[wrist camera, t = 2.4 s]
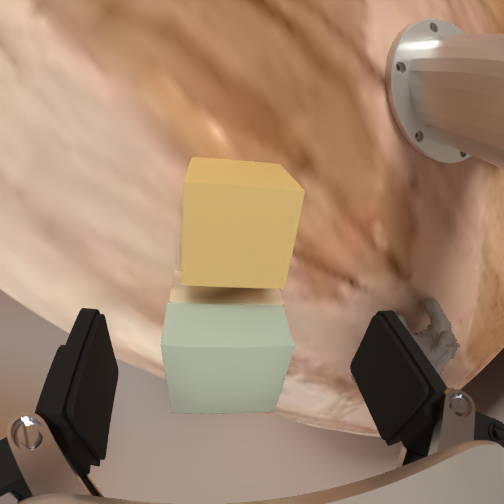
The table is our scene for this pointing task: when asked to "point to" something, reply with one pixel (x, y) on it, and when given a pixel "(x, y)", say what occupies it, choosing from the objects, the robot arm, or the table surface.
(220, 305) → the pale green square block
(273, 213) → the block
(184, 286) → the tower base
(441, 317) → the gray elephant figurine
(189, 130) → the table surface
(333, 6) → the table surface
